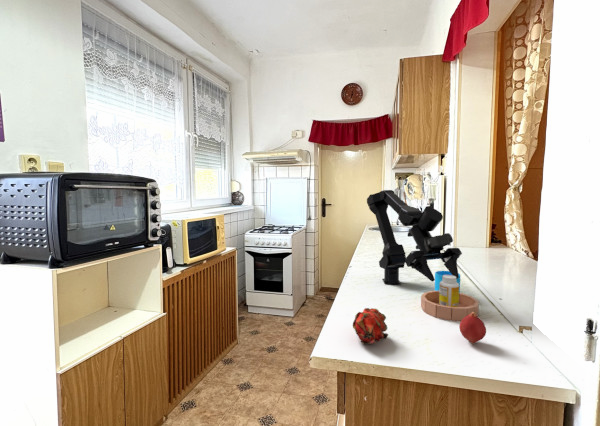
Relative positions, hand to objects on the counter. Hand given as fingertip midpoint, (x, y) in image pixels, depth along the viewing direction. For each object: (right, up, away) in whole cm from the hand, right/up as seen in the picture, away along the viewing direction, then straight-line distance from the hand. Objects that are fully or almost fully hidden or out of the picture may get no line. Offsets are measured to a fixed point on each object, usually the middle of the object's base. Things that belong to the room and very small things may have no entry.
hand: (445, 279), depth 101 cm
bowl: (+1, -10, -1) cm, 10 cm away
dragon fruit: (-28, -12, -19) cm, 36 cm away
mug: (+7, -9, +15) cm, 18 cm away
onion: (-3, -12, -21) cm, 25 cm away
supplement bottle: (+1, -9, -1) cm, 9 cm away
